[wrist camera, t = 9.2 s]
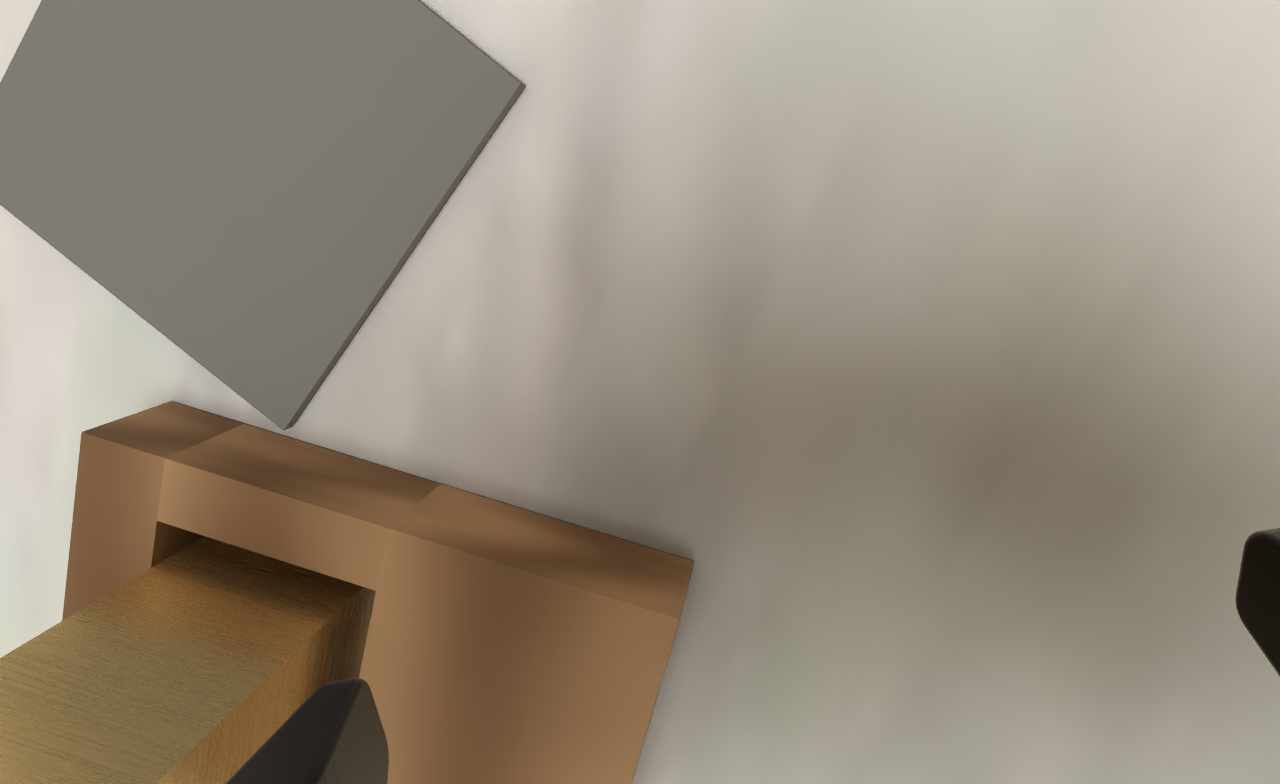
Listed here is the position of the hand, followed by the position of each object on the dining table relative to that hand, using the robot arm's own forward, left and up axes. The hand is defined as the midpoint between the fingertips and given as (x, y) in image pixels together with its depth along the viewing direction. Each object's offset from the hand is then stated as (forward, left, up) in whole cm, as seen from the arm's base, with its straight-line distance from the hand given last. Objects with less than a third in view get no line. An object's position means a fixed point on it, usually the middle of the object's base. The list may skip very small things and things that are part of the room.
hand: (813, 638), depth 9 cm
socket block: (+4, +11, -11) cm, 16 cm away
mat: (+14, +4, -11) cm, 18 cm away
